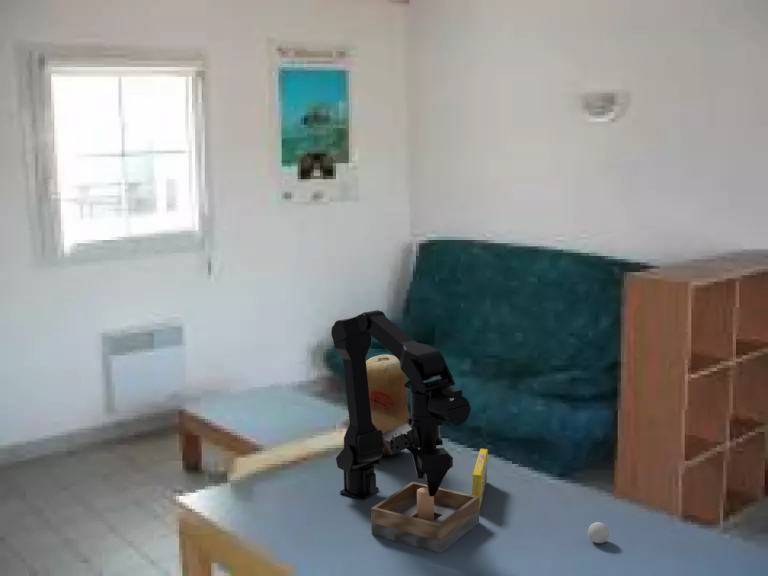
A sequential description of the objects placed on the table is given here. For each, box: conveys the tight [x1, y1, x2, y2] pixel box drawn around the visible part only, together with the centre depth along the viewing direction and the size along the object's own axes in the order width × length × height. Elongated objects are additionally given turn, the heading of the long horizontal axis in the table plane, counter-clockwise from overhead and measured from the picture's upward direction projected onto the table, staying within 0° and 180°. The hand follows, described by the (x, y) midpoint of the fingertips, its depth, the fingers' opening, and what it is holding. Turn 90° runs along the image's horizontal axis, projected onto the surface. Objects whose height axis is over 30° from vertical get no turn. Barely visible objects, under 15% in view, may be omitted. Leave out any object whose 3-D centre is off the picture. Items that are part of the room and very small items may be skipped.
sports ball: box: [587, 521, 610, 544], centre depth 178 cm, size 4×4×4 cm
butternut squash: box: [366, 353, 411, 457], centre depth 225 cm, size 14×13×25 cm
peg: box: [417, 488, 434, 522], centre depth 185 cm, size 3×3×8 cm
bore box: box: [370, 481, 480, 554], centre depth 185 cm, size 16×16×6 cm
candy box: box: [471, 448, 489, 511], centre depth 200 cm, size 16×2×8 cm, turn 168°
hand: (426, 487), depth 184 cm, fingers open, 9 cm apart
